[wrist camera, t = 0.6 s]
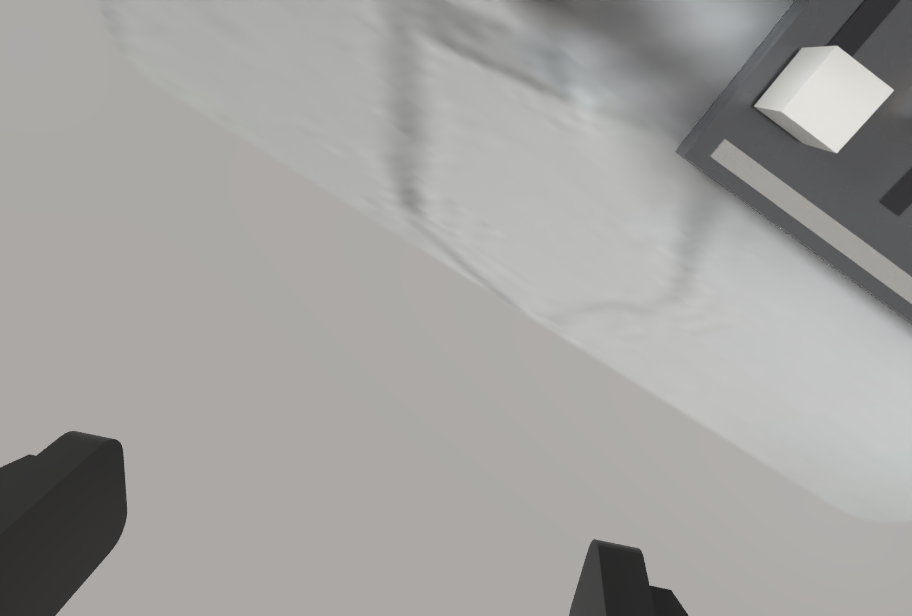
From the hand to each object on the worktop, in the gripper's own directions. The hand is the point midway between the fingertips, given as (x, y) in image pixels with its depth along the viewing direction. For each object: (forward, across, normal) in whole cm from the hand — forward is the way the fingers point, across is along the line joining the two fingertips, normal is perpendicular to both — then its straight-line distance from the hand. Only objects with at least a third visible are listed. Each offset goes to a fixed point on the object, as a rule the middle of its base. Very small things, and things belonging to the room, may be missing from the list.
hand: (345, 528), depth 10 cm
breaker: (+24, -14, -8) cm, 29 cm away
